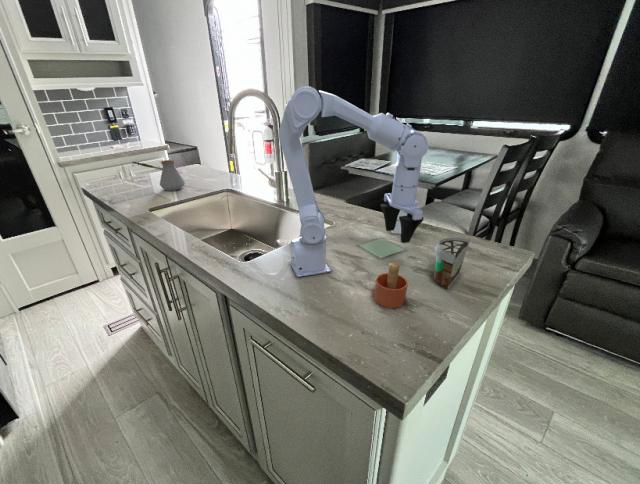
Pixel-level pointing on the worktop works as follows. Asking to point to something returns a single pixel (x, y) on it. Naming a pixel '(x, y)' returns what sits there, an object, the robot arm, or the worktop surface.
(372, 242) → the napkin
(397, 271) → the stirrer
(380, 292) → the cup
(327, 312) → the worktop surface
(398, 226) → the syrup box
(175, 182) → the coffee pot
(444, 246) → the food container
